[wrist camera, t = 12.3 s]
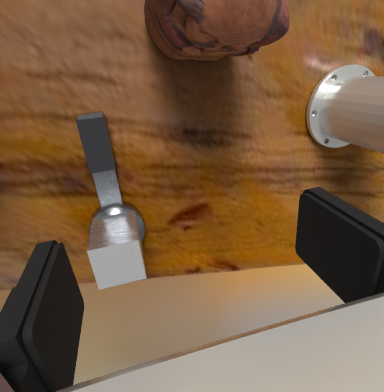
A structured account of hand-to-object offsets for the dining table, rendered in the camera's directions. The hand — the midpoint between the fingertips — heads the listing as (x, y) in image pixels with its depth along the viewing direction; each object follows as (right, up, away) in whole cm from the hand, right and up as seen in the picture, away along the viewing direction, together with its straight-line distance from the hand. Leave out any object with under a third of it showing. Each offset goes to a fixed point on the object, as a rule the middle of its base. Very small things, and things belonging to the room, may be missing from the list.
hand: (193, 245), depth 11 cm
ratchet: (-12, +3, +29) cm, 32 cm away
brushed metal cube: (-11, -3, +30) cm, 32 cm away
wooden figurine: (0, +23, +24) cm, 33 cm away
